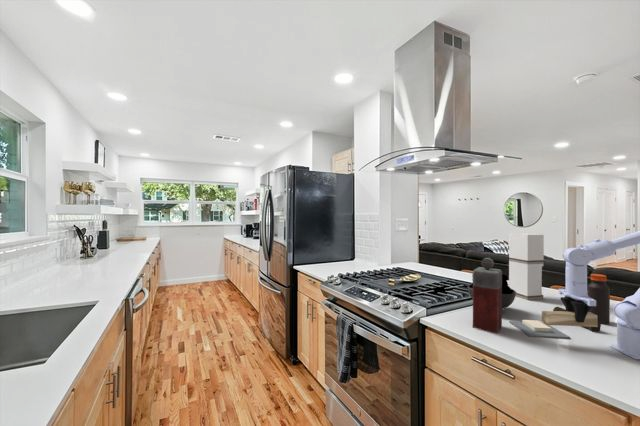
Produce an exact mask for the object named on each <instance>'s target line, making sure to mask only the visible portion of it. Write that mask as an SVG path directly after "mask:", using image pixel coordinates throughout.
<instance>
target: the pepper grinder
mask: <svg viewBox="0 0 640 426" xmlns="http://www.w3.org/2000/svg"><path fill="white" fill-rule="evenodd" d="M480 264H481V266H478V267H477V268H474V269H475V270H474V269H473V271H472V275H473V277H472V279H473V280H472V283H473V299H472V328H474V329H478V330H482V331H487V332H489V333H490V332H491V333H494V334H499V333H500V332H501V329H502V328H503V317H502V316H503V315H502V314H503V313H502V311H503V309H502V274H503V271H502V270H501V269H498V268H493V267H494V266H495V262H494V260H493V259H492V258H490V257H485V258H483V259H482V260H481V262H480Z"/></svg>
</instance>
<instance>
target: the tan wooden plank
mask: <svg viewBox="0 0 640 426" xmlns="http://www.w3.org/2000/svg"><path fill="white" fill-rule="evenodd" d="M541 323H545V324H547V325H550V326H567V327H583V326H587V327H598V319H597V315H595V314H593V313H590V312H588V313H587V315H586V318H585V320H584V322H576V319H575V312H563V311H553V310H541Z"/></svg>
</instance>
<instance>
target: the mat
mask: <svg viewBox="0 0 640 426" xmlns="http://www.w3.org/2000/svg"><path fill="white" fill-rule="evenodd" d="M509 323H510V324H511V325H512V326H514V327H515V328H517V329H518V330H520V332H522V333H524V334H525V335H526V336H528V337H530V338H531V337H532V338H548V339H550V338H552V339H567V340H571V336H569V335H567V334H566V333H564V332H562V331H561V330H559V329H557V328H555V327H553V325H547V324H545V323H543V322H542V323H543V324H545V325H547V326H548V327H550V328H551V332H538V331H533V330H532V329H530V328H529V327H527V326H526V325H524V324H523V323H522V321H518V320H509Z"/></svg>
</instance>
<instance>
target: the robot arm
mask: <svg viewBox="0 0 640 426" xmlns="http://www.w3.org/2000/svg"><path fill="white" fill-rule="evenodd" d="M639 244H640V230H637V231H634V232H632V233H631V232H630V233H629V234H626V235H623V236H620V237H616V238H614V239H611V240H607V239H603V238H602V239H599V238H596V239H593V241H592V242H589V243H587V244H578V245H577V247H568V248H567V249H566V250H564V253H563V254H562V257H563V259H564V261H565V288H558V294H559V295H562V296H561V297H560V300H561V302H562V303H563V306H564V307H565V308H564V309H566V311H567V312H575V319H576V322H584V320H585V318H586V315H587V313H588V311H589V310H590V309H591V308H592V307H593V306H596V300H594V299H592V298H590V297H589V296H588V264H589V263H591V262H592V261H596V260H599V259H603V258H606V257H610V256H613V255H615V253H616V251H618V250H620V249H623V248H628V247H631V246H636V245H639ZM612 309H613V314H614V315H615V316H616V317H617V320H616V344H610V343H609V344H608V346H609V347H611V348H613V349H614V350H616V351H618V352H621V353H623V354H624V355H626V356H628V357H630V358H632V359H634V360H638V361H639V360H640V287H639V288H638V289H637V290H636V291H635V292H634V294H633V295H630V296H626V297H625V298H624V299H623V300H622V301H620V302H617V303H616V304H615V305H613V308H612Z"/></svg>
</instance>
